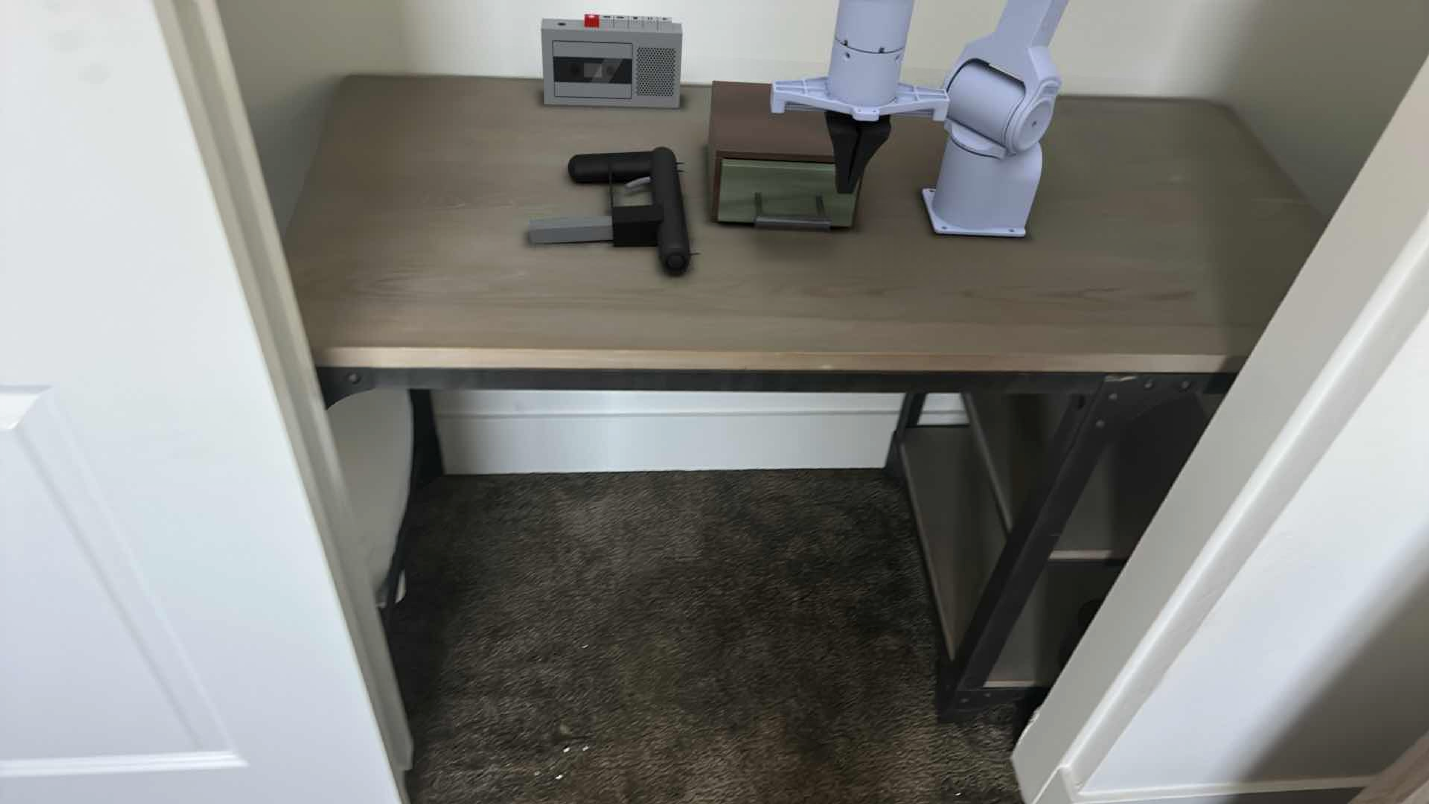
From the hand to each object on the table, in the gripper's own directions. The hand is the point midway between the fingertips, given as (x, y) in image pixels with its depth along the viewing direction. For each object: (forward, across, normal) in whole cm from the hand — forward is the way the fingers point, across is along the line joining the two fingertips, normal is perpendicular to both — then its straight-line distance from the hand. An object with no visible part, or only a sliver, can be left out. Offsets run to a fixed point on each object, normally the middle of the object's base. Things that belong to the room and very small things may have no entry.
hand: (843, 187), depth 91 cm
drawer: (+10, -4, +13) cm, 16 cm away
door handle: (+11, -21, +9) cm, 25 cm away
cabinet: (+10, -4, +17) cm, 20 cm away
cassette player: (+11, -22, +34) cm, 42 cm away
